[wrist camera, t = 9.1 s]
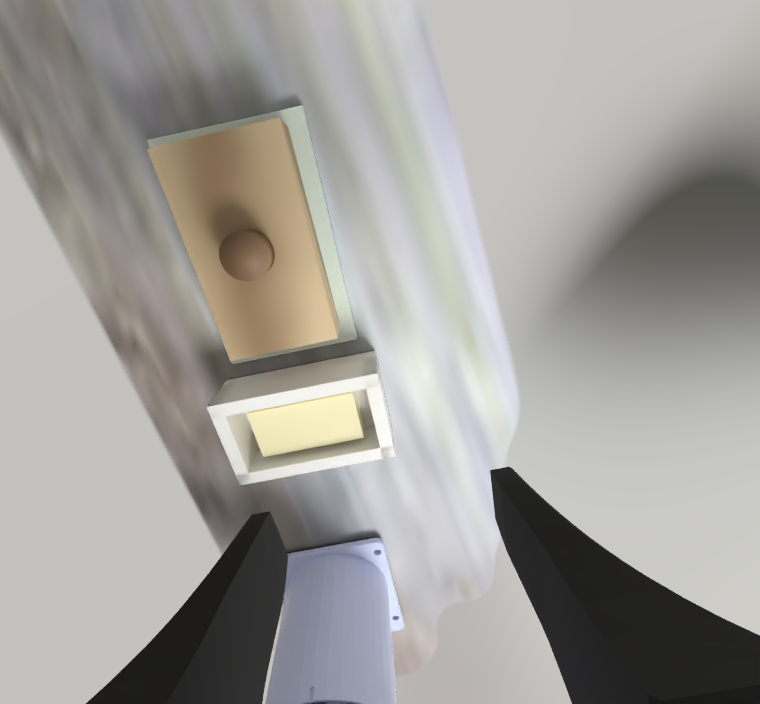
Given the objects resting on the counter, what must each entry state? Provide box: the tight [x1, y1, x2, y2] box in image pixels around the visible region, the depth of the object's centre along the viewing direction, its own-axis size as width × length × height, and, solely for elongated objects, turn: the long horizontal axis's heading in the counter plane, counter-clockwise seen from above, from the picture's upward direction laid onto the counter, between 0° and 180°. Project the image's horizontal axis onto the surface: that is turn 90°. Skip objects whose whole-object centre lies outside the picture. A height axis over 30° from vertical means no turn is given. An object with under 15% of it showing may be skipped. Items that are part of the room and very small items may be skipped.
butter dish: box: [207, 351, 395, 485], centre depth 21 cm, size 5×9×3 cm, turn 101°
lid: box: [147, 118, 340, 361], centre depth 17 cm, size 5×9×3 cm, turn 12°
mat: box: [147, 105, 357, 364], centre depth 19 cm, size 11×7×1 cm, turn 11°
